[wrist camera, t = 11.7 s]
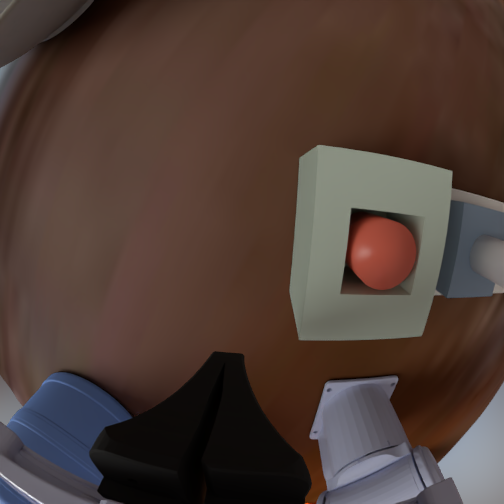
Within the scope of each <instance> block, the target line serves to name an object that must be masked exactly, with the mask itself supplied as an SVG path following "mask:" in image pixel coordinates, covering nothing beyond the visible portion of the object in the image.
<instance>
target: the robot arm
mask: <svg viewBox="0 0 504 504" xmlns="http://www.w3.org/2000/svg"><path fill="white" fill-rule="evenodd" d="M397 382H398V377H397V376H386V377H376V378H365V379H351V380H331V381H328V382H326V383H325V386H324V390H323V393H322V397H321V400H320V403H319V407H318V410H317V413H316V416H315V420H314V423H313V426H312V429H311V432H310V435H309V437H310V439H318V442H319V448H320V454H321V461H322V467H323V474H324V477H325V480H326V483H327V490H326V491H324V492H322V493H321V494H320V496H319V498H318V500H317V503H316V504H463V502H462V499H461V497H460V495H459V492H458V490H457V488H456V486H455V484H454V481H453V480H452V478H448V479H446V480H445V479H444V477H443V475H442V473H441V470H440V469H439V467H438V465H437V462H436V460H435V459H434V457H433V455H432V453H431V452H430V450H429V449H428V448H427V447H421V446H419V445H418V446H417V447H415V448H414V449H413V448H412V447H411V445H410V443H409V441H408V439H407V436H406V434H405V432H404V430H403V427H402V425H401V423H400V421H399V419H398V417H397V415H396V412H395V410H394V408H393V406H392V404H391V402H390V400H389V399H390V397H391V395H392V393H393V391H394V389H395V386H396V384H397ZM329 388H331V389H329ZM89 456H90V458H91V460H92V462H93V463H94V465H95V466H96V467H97V469H98V470H99V471H100V473H101V474H102V475H103V479H102V481H101V483H100V485H99V486H97V485H95V484H93V483H91V482H89V481H86V480H84V479H82V478H80V477H78V476H76V475H74V474H72V473H70V472H68V471H66V470H64V469H63V468H61V467H59V466H57V465H55V464H54V463H52V462H50V461H49V460H47V459H45V458H44V457H42V456H40V455H39V454H37V453H36V452H34V451H33V450H31V449H30V448H28V447H27V446H25V445H24V444H23V442H22V441H21V439H20V438H19V437H18V436H17V435H16V434H15V433H14V432H13V431H12V430H11V429H9V428H8V427H7V426H5V425H4V424H3V423H2V422H0V477H1V478H2V479H3V480H4V481H5V482H6V483H7V484H9V485H10V486H11V487H12V488H13V489H15V490H16V491H17V492H18V493H20V494H21V495H22V496H24V497H25V498H26V499H27V500H29V501H30V502H32V503H33V504H305V497H306V495H307V494H308V492H309V490H310V489H311V485H312V483H311V478H310V474H309V471H308V469H307V466H306V464H305V462H304V460H303V457H302V456H301V455H300V454H299V453H297V452H296V451H295V450H294V449H293V448H292V447H291V446H290V445H289V444H288V443H287V442H286V441H285V440H284V439H283V438H282V437H281V436H280V434H279V433H278V432H277V431H276V429H275V428H274V427H273V425H272V424H271V423H270V421H269V420H268V418H267V417H266V415H265V414H264V412H263V411H262V409H261V407H260V405H259V403H258V402H257V400H256V397H255V395H254V393H253V391H252V388H251V386H250V383H249V380H248V377H247V374H246V369H245V364H244V355H243V354H238V353H226V352H216V351H214V352H213V353H212V354H211V356H210V357H209V358H208V360H207V361H206V362H205V363H204V364H203V366H202V367H201V368H200V369H199V370H198V371H197V372H196V373H195V375H194V376H193V377H192V378H191V379H190V380H189V381H188V382H186V383H185V384H184V385H183V386H182V387H181V388H180V389H179V390H178V391H176V392H175V393H174V394H173V395H171V396H170V397H169V398H167V399H166V400H164V401H163V402H161V403H160V404H158V405H157V406H155V407H153V408H152V409H150V410H148V411H146V412H144V413H142V414H140V415H138V416H136V417H133V418H131V419H128V420H126V421H123V422H120V423H117V424H113V425H110V426H106V427H105V428H104V429H103V430H102V432H101V433H100V434H99V436H98V437H97V439H96V441H95V442H94V444H93V446H92V448H91V449H90V451H89Z"/></svg>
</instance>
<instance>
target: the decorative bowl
mask: <svg viewBox="0 0 504 504" xmlns="http://www.w3.org/2000/svg"><path fill="white" fill-rule="evenodd" d="M93 1H94V0H0V68H1V67H3V66H5V65H6V64H8V63H10V62H12V61H13V60H15V59H17V58H19V57H20V56H22V55H23V54H25V53H26V52H28V51H29V50H31V49H32V48H34V47H35V46H36V45H38V44H39V43H40V42H44V41H47V40H49V39H51V38H53V37H54V36H56V35H57V34H59V33H60V32H62V31H63V30H64V29H66V28H67V27H68V26H69V25H70V24H72V23H73V22H74V21H75V20H76V19H77V18H78V17H79V16H80V15H81V14H82V13H83V12H84V11H85V10H86V9H87V8H88V7H89V6H90V5H91V4H92V2H93Z"/></svg>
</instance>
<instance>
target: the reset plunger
mask: <svg viewBox="0 0 504 504" xmlns="http://www.w3.org/2000/svg"><path fill="white" fill-rule="evenodd" d="M415 258H416V244H415V240H414V238H413V236H412V234H411V232H410V231H409V230H408V229H407V227H405V226H404V225H402V224H401V223H398V222H396V221H393V220H390V219H387V218H384V217H381V216H378V215H375V214H372V213H369V212H356V213H353V214H351V215H350V225H349V234H348V243H347V251H346V258H345V263H346V264H347V265H348V266H349V267H350V268H351V269H352V270H353V272H354V273H355V274H356V275H357V276H358V277H359V278H360V279H361V280H362V281H363V282H364V283H365V284H366V285H367V286H369V287H371V288H373V289H377V290H386V289H390V288H393V287H395V286H397V285H399V284H400V283H401V282H402V281H404V280H405V279H406V277H407V276H408V275H409V273H410V272H411V270H412V268H413V265H414V263H415Z"/></svg>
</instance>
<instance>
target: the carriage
mask: <svg viewBox="0 0 504 504" xmlns="http://www.w3.org/2000/svg"><path fill="white" fill-rule="evenodd" d="M495 283H496V284H497V285H499V286H501V287H502V288H504V212H500V211H496V210H493V209H489V208H485V207H482V206H478V205H474V204H470V203H465V202H460V201H454V200H451V202H450V212H449V220H448V228H447V235H446V241H445V247H444V253H443V258H442V263H441V268H440V272H439V277H438V281H437V285H436V289H435V290H437V291H438V292H439V293H441V294H442V295H443V296H445V297H446V298H461V297H483V296H492V294H493V290H494V286H495Z"/></svg>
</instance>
